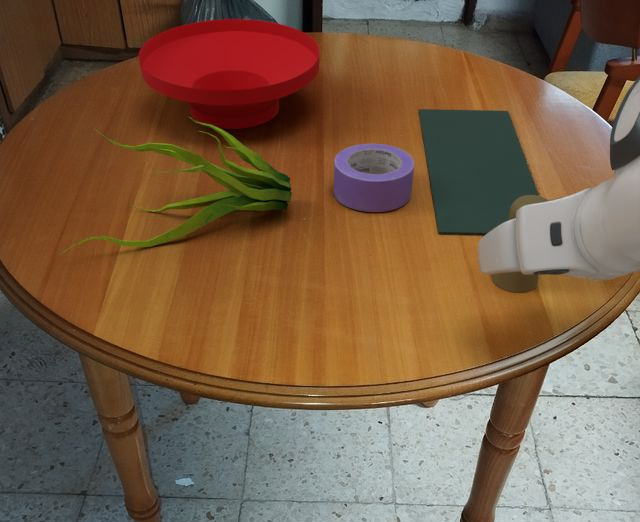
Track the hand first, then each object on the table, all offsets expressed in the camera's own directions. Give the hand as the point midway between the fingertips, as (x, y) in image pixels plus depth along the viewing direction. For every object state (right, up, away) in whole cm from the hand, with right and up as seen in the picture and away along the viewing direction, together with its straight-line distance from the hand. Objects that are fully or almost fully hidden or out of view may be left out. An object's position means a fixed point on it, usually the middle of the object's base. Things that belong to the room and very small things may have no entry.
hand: (545, 260), depth 79 cm
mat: (-1, +22, +29) cm, 37 cm away
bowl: (-42, +37, +43) cm, 70 cm away
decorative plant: (-45, +7, +16) cm, 48 cm away
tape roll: (-18, +16, +24) cm, 34 cm away
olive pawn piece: (-1, 0, +9) cm, 9 cm away
